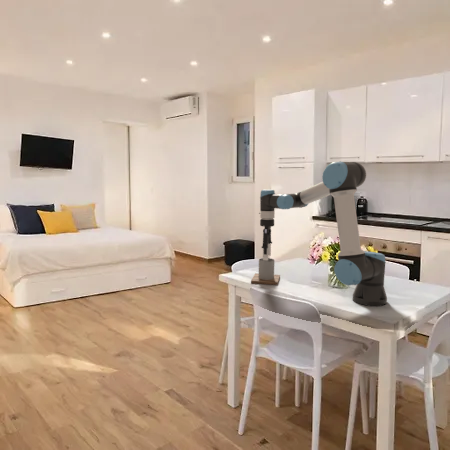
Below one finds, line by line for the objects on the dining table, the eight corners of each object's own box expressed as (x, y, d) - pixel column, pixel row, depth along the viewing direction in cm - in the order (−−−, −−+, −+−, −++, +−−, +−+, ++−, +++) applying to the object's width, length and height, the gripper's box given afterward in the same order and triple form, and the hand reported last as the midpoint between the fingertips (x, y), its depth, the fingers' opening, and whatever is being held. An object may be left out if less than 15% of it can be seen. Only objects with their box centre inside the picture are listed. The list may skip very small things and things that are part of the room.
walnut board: (277, 285, 224) (277, 282, 223) (251, 283, 226) (251, 280, 226) (280, 277, 239) (280, 274, 239) (255, 275, 242) (255, 273, 242)
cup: (272, 280, 227) (273, 261, 226) (257, 279, 229) (257, 260, 228) (274, 276, 235) (275, 258, 234) (259, 275, 237) (260, 257, 236)
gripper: (263, 216, 241) (262, 253, 244) (257, 221, 217) (256, 262, 219) (276, 216, 240) (275, 253, 242) (271, 221, 215) (271, 262, 218)
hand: (266, 257), depth 231 cm, fingers open, 13 cm apart
